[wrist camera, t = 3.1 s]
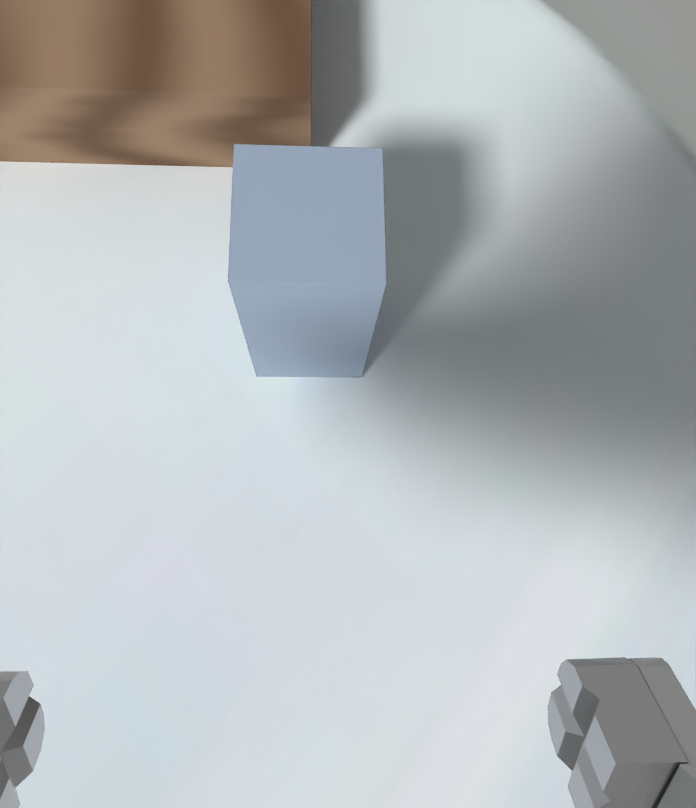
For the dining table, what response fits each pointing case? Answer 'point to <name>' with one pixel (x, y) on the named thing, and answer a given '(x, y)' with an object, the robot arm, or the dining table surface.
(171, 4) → the walnut block
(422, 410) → the dining table surface
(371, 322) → the slate pillar
